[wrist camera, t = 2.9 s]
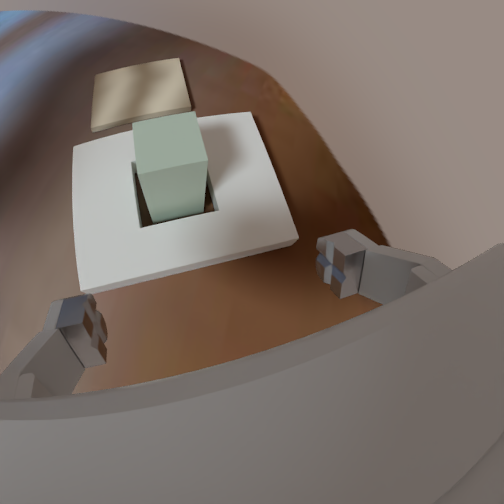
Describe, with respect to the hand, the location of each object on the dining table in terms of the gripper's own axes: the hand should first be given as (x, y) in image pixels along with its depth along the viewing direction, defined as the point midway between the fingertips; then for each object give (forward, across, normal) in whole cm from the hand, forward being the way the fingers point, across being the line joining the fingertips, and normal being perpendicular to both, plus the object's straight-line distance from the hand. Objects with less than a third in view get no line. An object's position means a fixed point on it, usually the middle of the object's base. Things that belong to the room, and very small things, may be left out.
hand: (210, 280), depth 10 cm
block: (+17, 0, +2) cm, 17 cm away
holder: (+17, 0, +2) cm, 17 cm away
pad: (+28, +2, -9) cm, 29 cm away
